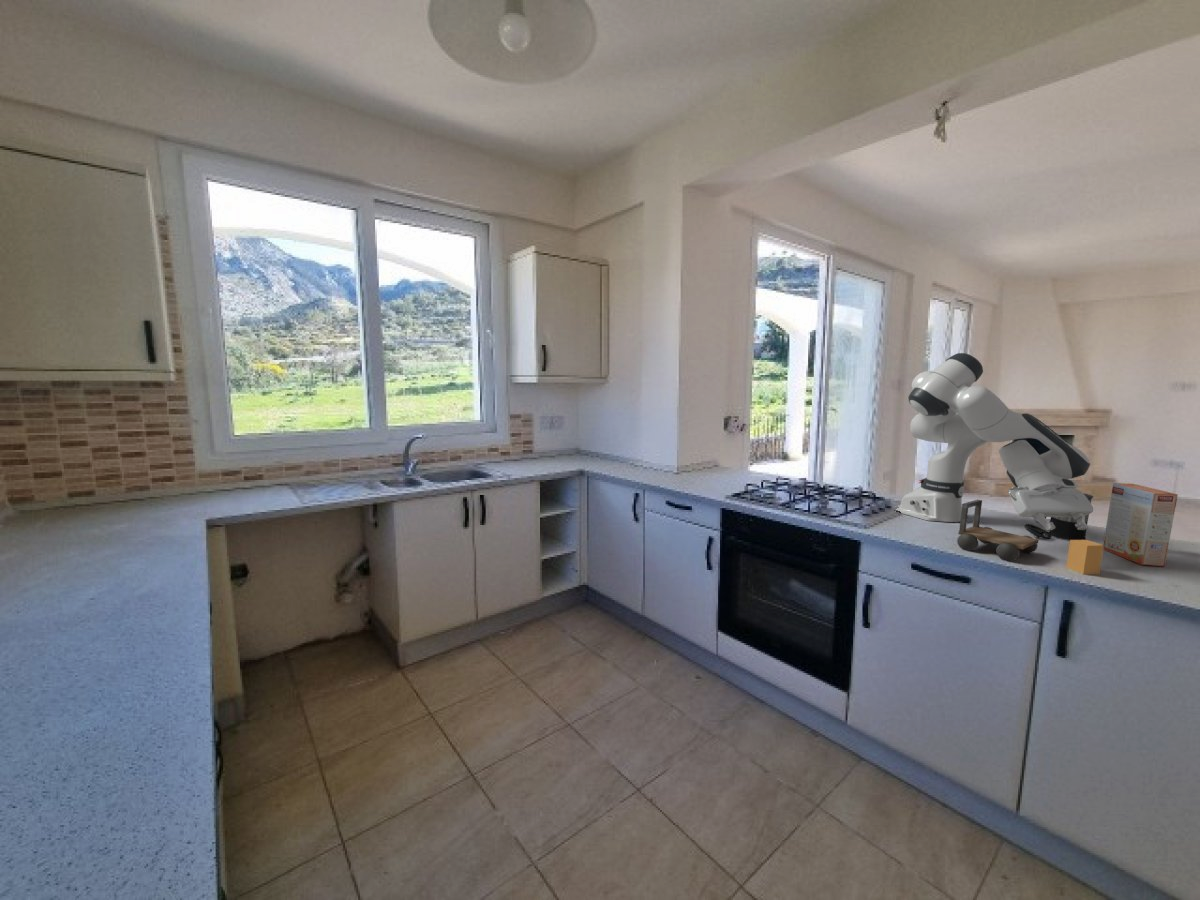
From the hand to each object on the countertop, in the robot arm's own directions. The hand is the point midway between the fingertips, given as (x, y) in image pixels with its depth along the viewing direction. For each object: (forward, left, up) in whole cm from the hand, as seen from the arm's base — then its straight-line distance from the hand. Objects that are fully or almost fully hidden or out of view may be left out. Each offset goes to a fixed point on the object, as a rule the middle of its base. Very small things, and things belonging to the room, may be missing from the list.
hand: (1067, 529), depth 138 cm
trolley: (-14, -4, -10) cm, 18 cm away
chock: (+5, -2, -10) cm, 11 cm away
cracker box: (+9, +24, -10) cm, 28 cm away
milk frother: (-10, +29, -10) cm, 32 cm away
